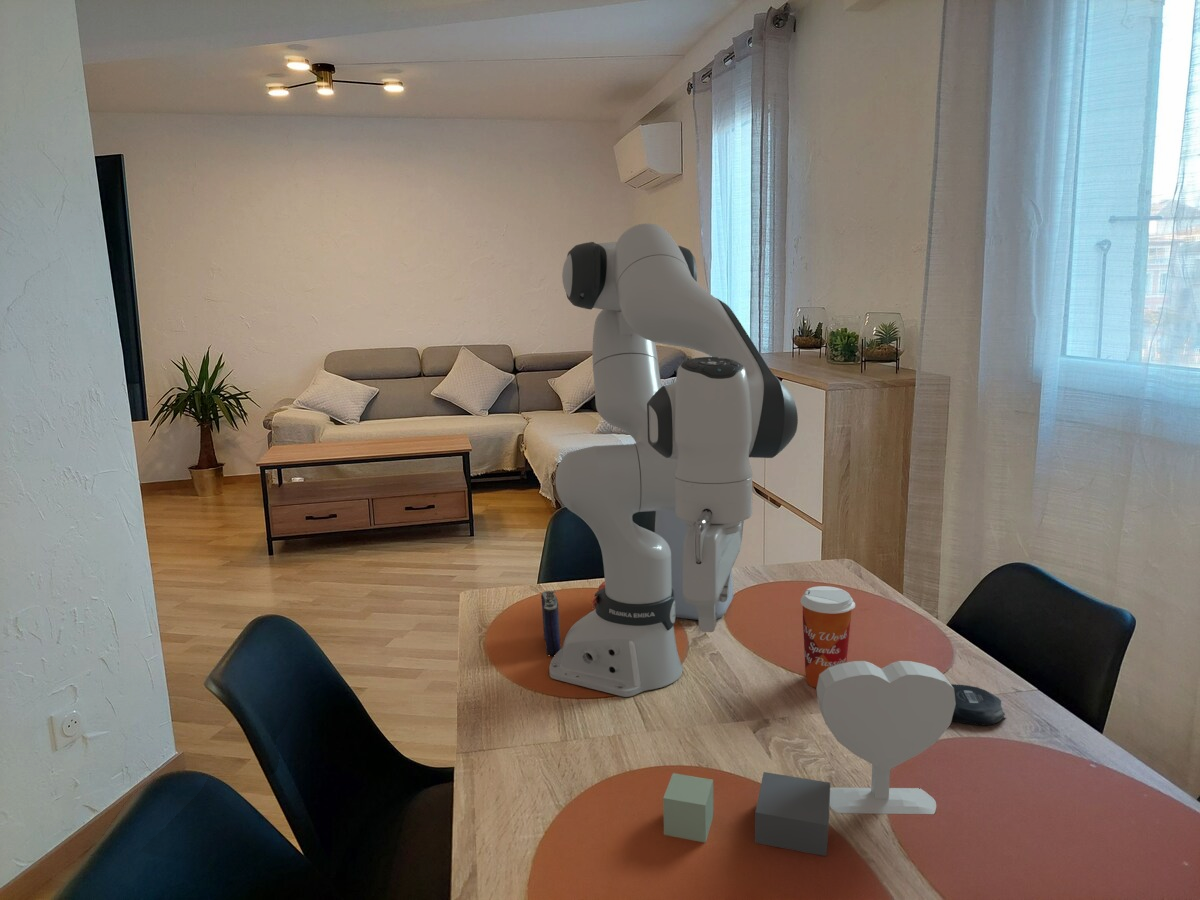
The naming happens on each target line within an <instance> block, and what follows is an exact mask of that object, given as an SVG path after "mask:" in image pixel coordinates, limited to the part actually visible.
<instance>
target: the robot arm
mask: <svg viewBox="0 0 1200 900" xmlns="http://www.w3.org/2000/svg"><path fill="white" fill-rule="evenodd" d="M696 261H697V260H696V258H695V256H694V255H693V253H692V251H691V250H690V249H689V248H687V247H684V246H682V245H678V244H677V242H676V241H675V239H674V238H673V237H672V235H671V234H670V233H669V232H668V231H667V230H666V229H665V228H663V227H662V226H660V225H657V224H653V223H640V224H637V225H636V224H635V225H634V226H631V227H630V228H628V229H626V230H625V231H624V232H622V234H621V235H620V236H619V238H618V240H617V241H616V242H613V241H612V242H611V241H610V242H600V243H595V242H594V241H589V242H583V243H580V244H579V243H578V244H576V245H575V246H573V247H572V248H571V249H570V250H569V251H568V253H567V256H566V258H565V260H564V263H563V267H562V275H561V276H562V277H561V279H562V284H563V285H562V286H563V288H564V292H565V293H566V297H567V299H568V300H569V302H570V303H571V304H572V305H573V306H575V307H577V308H580V309H584V310H592V309H598V310H601V311H600V312H599V313H598V314H597V316H596V318H595V321H594V328H593V336H592V348H591V349H592V351H591V353H592V372H593V386H594V397H595V399H594V401H595V408H596V411H597V413H598V415H599V416H600V417H601V418H602V419H603V420H604V421H605V422H607V424H609V425H612V426H613V427H616V428H617V429H621V430H622V431H624V432H626V433H627V434H629V435H630V437H632V439H633V440H634V441H635V443H633V444H631V443H629V444H610V445H608V444H607V445H593V446H589V447H584V448H580V449H576V450H573V451H570V452H567V453H566V454H565V455H563V457H562V459H561V460H560V462H559V463H558V466H557V469H556V472H555V477H554V478H555V481H554V483H555V489H556V492H557V495H558V498H559V500H560V501H561V503H562V504H563V505H564V506H565V507H566V508H567V510H568V511H570V512H571V513H573V514H575V515H576V516H577V517H578V518H580V519H582V520H583V521H584V522H585V523H586V524H587V525H588V526H589V528H590V529H591V530H592V532H593V533H594V535H595V538H596V539H597V541H598V544H599V546H600V550H601V555H602V563H603V572H604V581H602V583H601V584H600V585H598V590H597V591H596V592H595V594H594V597H593V598H592V601H591V603H592V604H591V607H592V608H594V610H592V611H590V612H589V613H587V614H585V615H584V616H583V617H581V618H580V619H578V621H575V623H574V624H573V625H572V626H571V627H570V628H569V630H568V632H567V633H566V635H565V637H564V641H563V646H561V649H560V650H559V651H558V652H557V653H556V654H555V656H554V657H552V659H551V661H550V664H549V670H548V674H549V676H550V678H551V679H553V680H557V681H560V682H565V683H568V684H572V685H576V686H580V687H584V688H587V689H592V690H596V691H600V692H604V693H608V694H612V695H616V696H619V697H623V698H624V697H625V698H629V697H634V696H635V695H637V694H640V693H642V692H646V691H651V690H655V689H659V688H663V687H666V686H669V685H671V684H672V683H674V682H676V681H677V680H678V679H679V678H680V677H681V676H682V673H683V665H682V663H681V659H680V655H679V650H678V647H677V642H676V635H675V627H674V625H675V622H676V617H675V598H674V590H673V589H672V573H671V550H670V547H669V545H668V543H667V542H666V541H665V540H664V539H663V538H662V537H661V536H659V535H658V534H656V533H655V531H652V530H649V529H647V528H646V527H642V526H639V525H638V524H637V523H635V522H634V521H633V517H634V516H633V515H634V514H638V513H642V512H656V511H662V510H675V514H676V516H677V517H678V518H680V519H682V520H685V521H686V528H687V530H688V533H687V534H686V537H685V541H684V551H683V597H684V600H685V602H686V603H688V604H695V606H696V610H697V613H698V617H699V620H698V629H699V631H701V632H703V633H713V632H714V631H715V630H716V627H717V619H716V618H717V617H716V613H715V604H716V603H717V602H719V601H720V602H725V601H726V600H727V598H728V596H729V581H730V574H731V570H732V571H733V567H734V565H735V563H736V560H737V558H738V556H739V554H740V552H741V547H742V541H743V533H744V532H743V531H744V521H746V520H748V519H750V518H751V517H752V515H753V469H752V466H751V463H750V458H755V459H756V458H757V459H758V458H761V459H773V458H775V457H776V456H777V455H779V453H781V452H782V451H783V450H784V449H785V448H786V447H788V445H789V443H790V442H791V441H792V440H793V438H794V437H795V436H796V433H797V431H798V430H797V429H798V421H799V419H798V417H799V415H798V408H797V405H796V401H795V399H794V396H793V395H792V393H791V392H790V390H789V389H788V387H786V385H785V384H784V383H783V382H782V381H781V380H780V379H779V378H778V377H777V375H775V374H774V373H773V372H772V371H771V369H770V367H769V366H768V365H767V363H766V361H765V359H764V358H763V356H762V355H761V353H760V352H759V350H758V349H757V346H756V345H755V344H754V342H753V341H752V339H751V338H750V336H749V334H748V333H747V331H746V329H745V328H744V326H743V325H742V323H741V322H740V320H739V319H738V318H737V317H738V316H736V314H735V313H734V311H733V310H732V309H731V307H730V306H729V305H728V304H727V303H726V302H724V301H722V300H720V299H719V298H717V297H715V296H714V295H712V294H710V293H709V292H708V291H707V290H706V289H704V288H703V287H702V286H701V285H700V284H699V283H698V269H697V267H698V266H697V262H696ZM657 343H658V344H663V345H669V346H674V347H675V346H676V347H680V348H685V349H690V350H695V351H698V352H701V353H703V354H706V355H708V356H703V357H702V356H701V357H695V358H691V359H688V360H685V361H683V362H682V363H681V364H679V365H678V368H677V371H676V377H675V378H676V379H675V381H673V382H672V383H670V384H667V385H662V383H661V382H662V381H661V375H660V366H659V365H660V364H659V358H658V357H659V356H658V350H657V345H656V344H657Z"/></svg>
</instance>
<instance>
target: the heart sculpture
mask: <svg viewBox="0 0 1200 900" xmlns="http://www.w3.org/2000/svg"><path fill="white" fill-rule="evenodd" d="M951 684H952V683H950V681H949V680H948V678H947V677H946V676H945V675H944V673H943V672H941V671H940V670H938V669H937V668H936V667H935V666H931V665H928V664H925V663H921V662H917V661H911V660H896V661H893V662H891V663H889V664H887V665H885V666H883V667H879V666H878V665H876V664H873V663H872V662H869V661H866V660H854V661H853V660H852V661H847V662H846V663H842V664H838V665H835V666H832V667H829V668H827V669H826V670H824V671H823V672H822V673H821V674H819V679H818V684H817V689H816V688H815V689H816V694H817V701H818V708H819V711H820V713H821V716H822V718H823V720H824V724H825V725H826V726H827V728H828V729H829V731H830V733H831V734H832V735H833V737H834V738H835V740H836V741H837V742H838V744H840V745H842V746H843V747H844V748H845V749H847V750H848V751H850V752H851V753H852V754H853V755H854V756H856V757H859V758H860V759H863V760H864V761H866V762H868V763H869V764H871V766H872V767H871V782H870V783H871V784H870V785H871V787H830V809H832V811H834V812H835V813H836V814H874V815H875V814H882V815H884V814H888V815H889V814H892V815H897V814H898V815H905V814H906V815H934V814H935V812H936V810H937V803H936V800H935V799H934V797H933V796H931V794H928V792H927V791H925V790H923V789H922V788H920V787H914V788H913V787H890V779H891V770H892V769H893V768H895V767H897V766H899V765H901V764H903V763H905V762H907V761H909V760H911V759H913V758H915V757H917V756H918V755H920V754H921V753H923V752H925V751H926V750H927V749H929V748H931V747H932V746H933V745H934V744H936V743H937V742H938V741H939V740H940V738H942V736H943V734H944V733H945V732H946V731H947V729H948V728H949V726H950V725H951V723H952V721H953V720H952V717H953V713H954V709H955V705H956V702H955V693H954V688H953V687H952V685H951ZM919 788H920V789H919Z"/></svg>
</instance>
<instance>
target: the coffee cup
mask: <svg viewBox="0 0 1200 900" xmlns="http://www.w3.org/2000/svg"><path fill="white" fill-rule="evenodd" d="M800 604H801V605H802V627H803V628H802V629H803V630H802V631H803V651H804V652H803V653H804V670H805V682H806V684H808V685H809V686H810V687H812V688H814V689H817V684H818V679H819V674H821V673H822V672H823V671H824V670H826V669H827V668H829V667H832V666H835V665H838V664H842V663H847V662H848V661H847V660H848V652H849V649H848V648H849V641H850V640H849V639H850V630H851V620H852V619H851V618H852V612H853V611H852V610H853V609H855V608H856V602H855V601H854V599H853V598H852V596H851V595H850V593H849V592H848V591H846V590H844V589H842V588H839V587H834V586H826V585H825V586H819V585H818V586H812V587H809V588H807V589H805V591H804V593H803V595H802V597H801V598H800Z"/></svg>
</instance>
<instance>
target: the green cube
mask: <svg viewBox="0 0 1200 900" xmlns="http://www.w3.org/2000/svg"><path fill="white" fill-rule="evenodd" d="M662 800H663V801H662V803H663V805H662V806H663V807H662V808H663V810H662V811H663V835H664V836H668V837H674V838H680V839H685V840H689V841H695V842H698V843H699V842H700V843H707V839H708V835H709V832H710V829H711V825H712V822H713V818H714V779H710V778H705V777H699V776H692V775H686V774H680V773H675V772H672V774H671V777H670V780H669V782H668V785H667V787H666V790H665V792H664V796H663V797H662Z"/></svg>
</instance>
